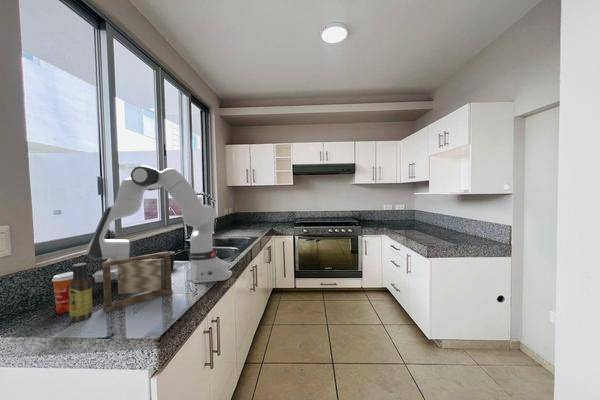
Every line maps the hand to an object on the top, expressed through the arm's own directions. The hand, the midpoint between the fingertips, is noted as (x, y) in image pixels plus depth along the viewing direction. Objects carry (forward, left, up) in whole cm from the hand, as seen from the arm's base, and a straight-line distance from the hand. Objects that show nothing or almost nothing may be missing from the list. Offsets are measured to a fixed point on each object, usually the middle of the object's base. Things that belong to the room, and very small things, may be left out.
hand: (125, 276), depth 110 cm
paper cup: (+14, +14, -9) cm, 21 cm away
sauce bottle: (+2, +21, -9) cm, 23 cm away
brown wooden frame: (-10, +6, -8) cm, 14 cm away
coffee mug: (+2, -37, -9) cm, 38 cm away
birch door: (-8, +2, -7) cm, 11 cm away
